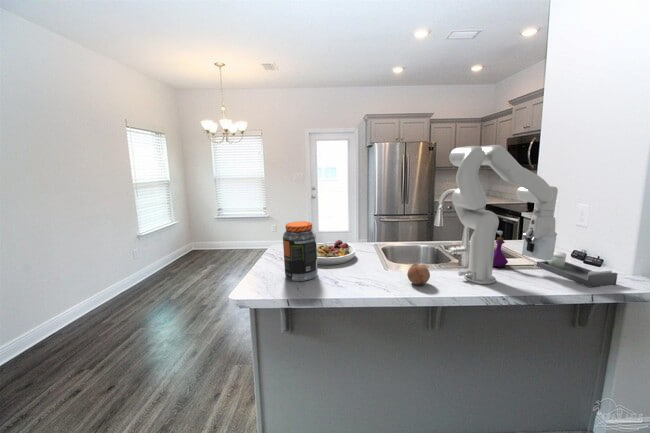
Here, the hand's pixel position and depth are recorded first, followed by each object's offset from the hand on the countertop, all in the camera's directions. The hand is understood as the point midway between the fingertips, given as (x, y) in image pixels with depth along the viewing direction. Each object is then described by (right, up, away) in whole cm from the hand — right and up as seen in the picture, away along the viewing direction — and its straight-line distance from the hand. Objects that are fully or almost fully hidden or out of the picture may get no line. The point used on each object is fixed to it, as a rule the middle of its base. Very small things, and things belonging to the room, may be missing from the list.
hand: (537, 250), depth 137 cm
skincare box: (0, -3, 0) cm, 3 cm away
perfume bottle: (-11, -9, +14) cm, 20 cm away
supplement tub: (-110, -13, +7) cm, 111 cm away
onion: (-57, -14, -6) cm, 59 cm away
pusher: (+18, -12, -11) cm, 24 cm away
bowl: (-96, -8, +34) cm, 102 cm away
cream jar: (+15, -9, +8) cm, 19 cm away
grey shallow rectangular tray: (+16, -11, 0) cm, 19 cm away
